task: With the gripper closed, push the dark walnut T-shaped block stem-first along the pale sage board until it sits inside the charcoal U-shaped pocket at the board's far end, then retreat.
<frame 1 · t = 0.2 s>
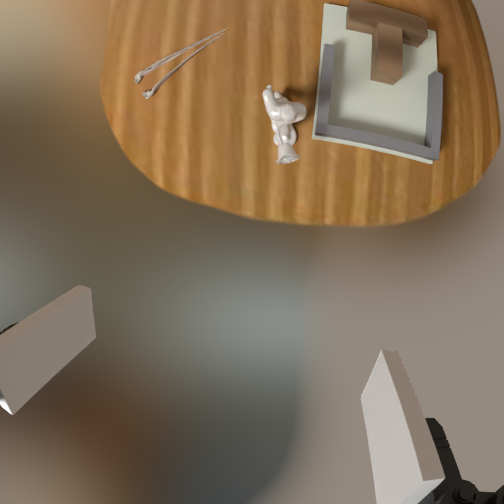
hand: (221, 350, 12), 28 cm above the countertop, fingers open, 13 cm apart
figurine: (286, 127, 35), on the countertop
board: (380, 77, 31), on the countertop
t block: (382, 49, 29), point 1 cm above the countertop, touching board
silver tweezers: (191, 54, 35), on the countertop
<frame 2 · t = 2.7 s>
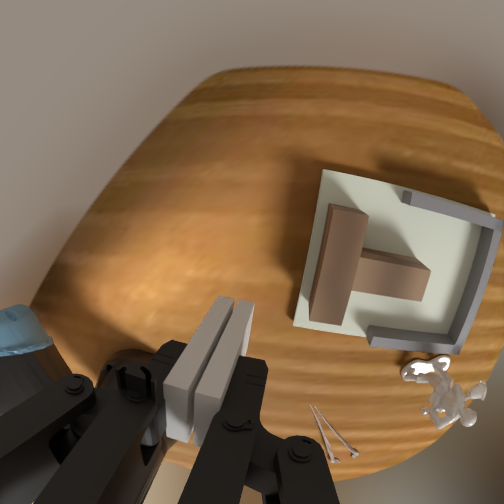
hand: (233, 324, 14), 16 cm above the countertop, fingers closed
figurine: (432, 362, 31), on the countertop
board: (401, 267, 28), on the countertop
t block: (368, 263, 28), point 1 cm above the countertop, touching board
silver tweezers: (327, 426, 36), on the countertop
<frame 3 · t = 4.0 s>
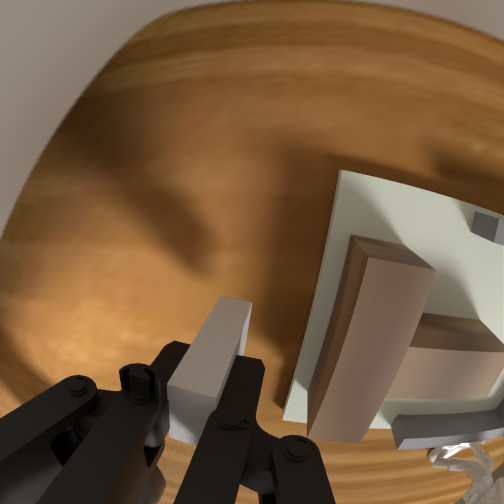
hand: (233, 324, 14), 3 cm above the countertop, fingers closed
figurine: (469, 437, 18), on the countertop
board: (454, 332, 16), on the countertop
t block: (409, 334, 15), point 1 cm above the countertop, touching board
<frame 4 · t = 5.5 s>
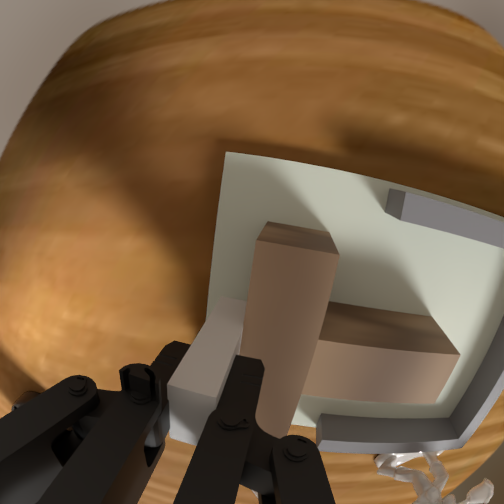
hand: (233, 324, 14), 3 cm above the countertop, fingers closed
figurine: (423, 445, 19), on the countertop
board: (381, 326, 16), on the countertop
t block: (344, 329, 15), point 1 cm above the countertop
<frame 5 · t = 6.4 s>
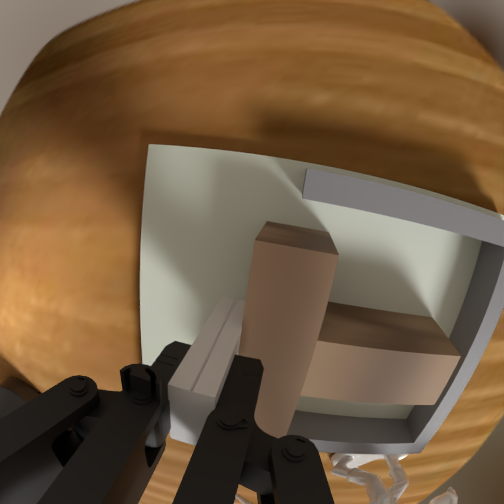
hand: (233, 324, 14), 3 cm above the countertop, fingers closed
figurine: (384, 446, 19), on the countertop
board: (315, 316, 16), on the countertop
t block: (344, 330, 15), point 1 cm above the countertop, touching board, gripper
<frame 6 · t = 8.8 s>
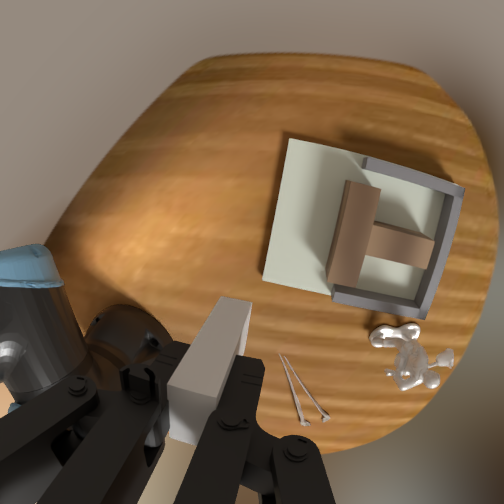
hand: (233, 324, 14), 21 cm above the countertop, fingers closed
figurine: (402, 330, 34), on the countertop
board: (363, 230, 32), on the countertop
t block: (378, 235, 31), point 1 cm above the countertop, touching board
silver tweezers: (297, 381, 40), on the countertop
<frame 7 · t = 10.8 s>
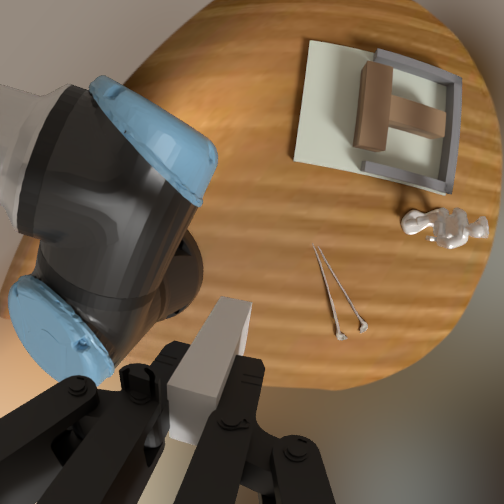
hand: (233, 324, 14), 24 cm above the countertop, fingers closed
figurine: (430, 217, 34), on the countertop
board: (382, 115, 32), on the countertop
t block: (396, 117, 30), point 1 cm above the countertop, touching board
silver tweezers: (331, 280, 39), on the countertop
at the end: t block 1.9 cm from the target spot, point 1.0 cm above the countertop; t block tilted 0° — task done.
